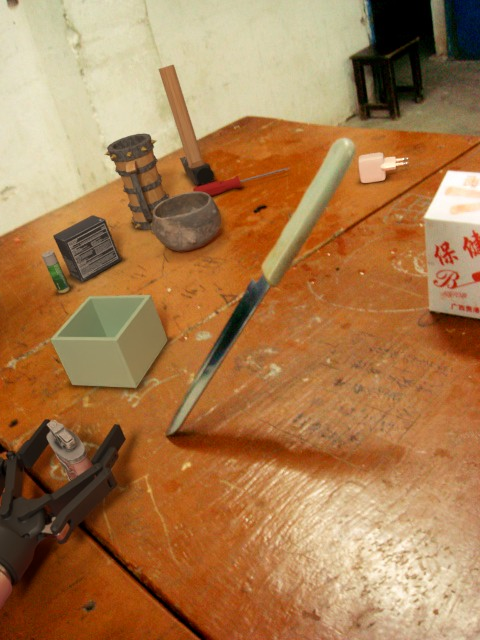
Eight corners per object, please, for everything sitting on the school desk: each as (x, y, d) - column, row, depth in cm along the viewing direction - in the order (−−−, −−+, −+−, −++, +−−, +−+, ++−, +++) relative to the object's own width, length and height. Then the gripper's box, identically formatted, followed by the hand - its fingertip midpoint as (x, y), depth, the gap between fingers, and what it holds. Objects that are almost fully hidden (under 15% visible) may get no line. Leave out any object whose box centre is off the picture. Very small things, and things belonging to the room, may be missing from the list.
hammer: (186, 178, 185) (152, 71, 173) (202, 173, 185) (169, 66, 174) (198, 187, 166) (161, 67, 155) (216, 180, 167) (180, 61, 156)
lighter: (62, 474, 90) (33, 423, 84) (82, 460, 91) (56, 408, 86) (88, 503, 84) (59, 450, 78) (110, 487, 85) (83, 434, 80)
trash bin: (72, 385, 107) (49, 339, 102) (107, 339, 117) (88, 295, 112) (136, 387, 103) (116, 340, 97) (167, 340, 112) (151, 294, 107)
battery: (72, 287, 138) (55, 249, 133) (64, 294, 136) (46, 256, 131) (64, 286, 139) (47, 248, 134) (55, 293, 138) (38, 254, 133)
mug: (179, 203, 164) (156, 127, 153) (180, 231, 150) (154, 149, 139) (131, 215, 165) (104, 140, 154) (127, 244, 150) (97, 164, 140)
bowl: (149, 254, 143) (135, 214, 137) (198, 223, 151) (187, 184, 145) (189, 266, 133) (176, 223, 128) (240, 232, 141) (229, 191, 136)
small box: (108, 254, 148) (92, 213, 143) (122, 260, 143) (106, 218, 138) (69, 275, 143) (51, 234, 138) (82, 283, 139) (64, 240, 133)
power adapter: (409, 170, 148) (407, 146, 145) (410, 178, 144) (408, 154, 141) (361, 177, 151) (358, 153, 148) (360, 185, 147) (357, 161, 144)
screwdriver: (292, 176, 161) (289, 163, 159) (196, 202, 162) (193, 190, 160) (289, 172, 164) (287, 159, 162) (195, 197, 165) (192, 185, 163)
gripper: (-75, 574, 77) (28, 442, 94) (84, 607, 68) (167, 454, 85) (-107, 535, 73) (6, 404, 90) (57, 564, 64) (150, 413, 81)
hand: (84, 428), depth 87 cm, fingers open, 11 cm apart
